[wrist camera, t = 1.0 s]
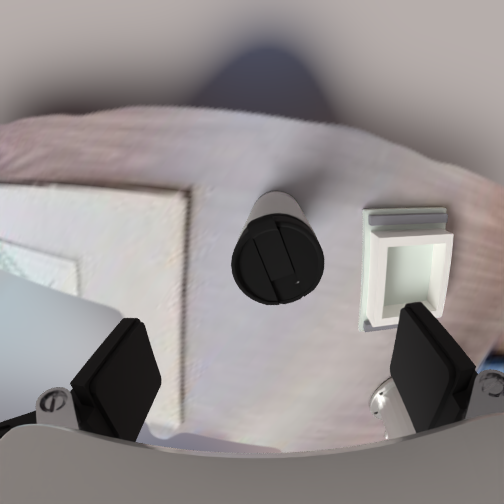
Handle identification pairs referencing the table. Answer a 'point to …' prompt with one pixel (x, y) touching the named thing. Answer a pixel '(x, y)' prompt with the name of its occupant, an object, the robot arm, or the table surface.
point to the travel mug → (277, 252)
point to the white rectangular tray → (403, 263)
